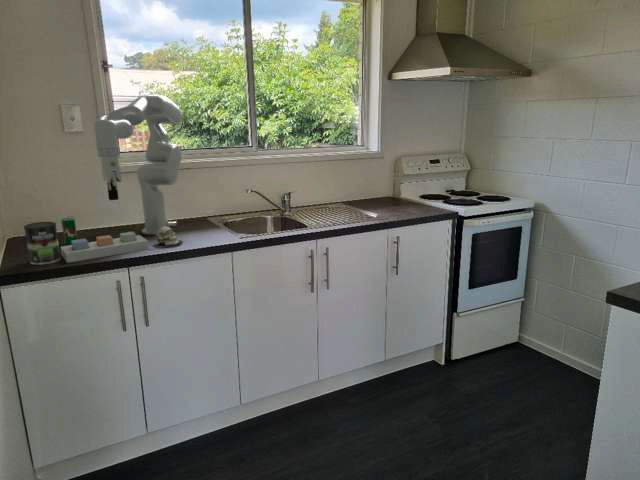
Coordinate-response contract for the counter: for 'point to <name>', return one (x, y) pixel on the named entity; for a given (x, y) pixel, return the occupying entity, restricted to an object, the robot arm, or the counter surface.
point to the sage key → (128, 237)
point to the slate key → (79, 244)
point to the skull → (166, 237)
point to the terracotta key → (104, 240)
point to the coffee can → (42, 243)
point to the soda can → (69, 229)
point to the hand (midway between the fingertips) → (113, 199)
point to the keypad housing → (103, 249)
